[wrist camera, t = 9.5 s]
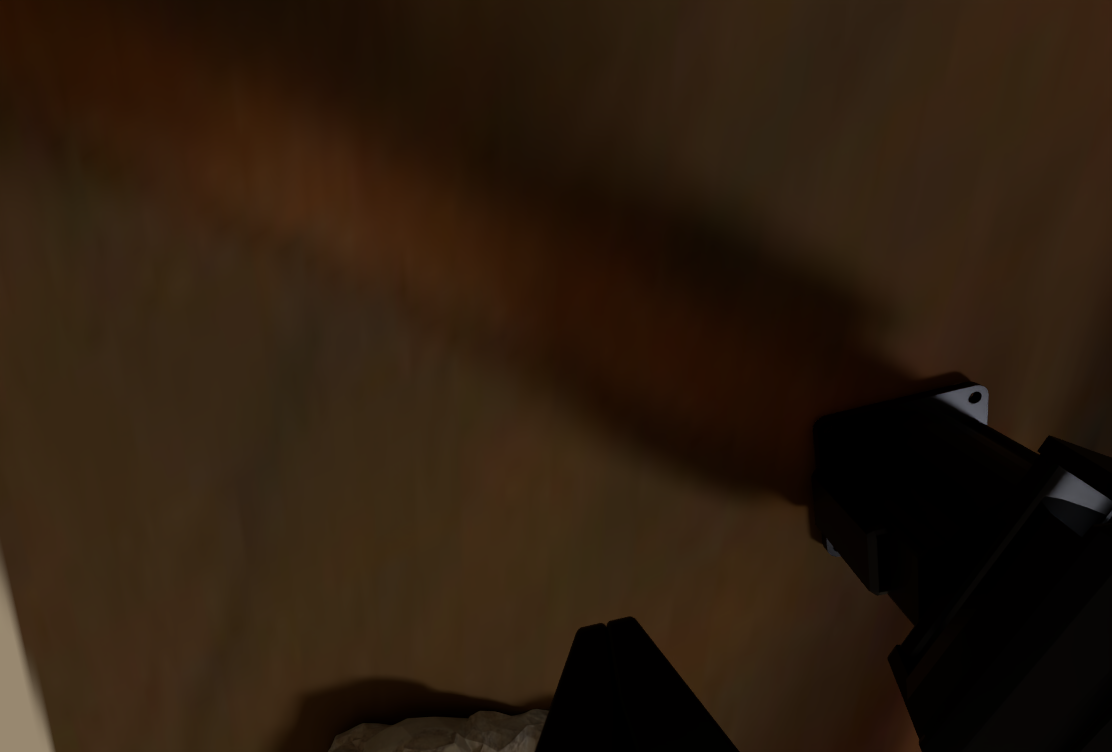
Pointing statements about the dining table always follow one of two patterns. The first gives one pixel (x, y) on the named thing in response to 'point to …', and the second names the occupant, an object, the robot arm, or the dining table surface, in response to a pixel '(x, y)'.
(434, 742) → the clay tablet
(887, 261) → the dining table surface
